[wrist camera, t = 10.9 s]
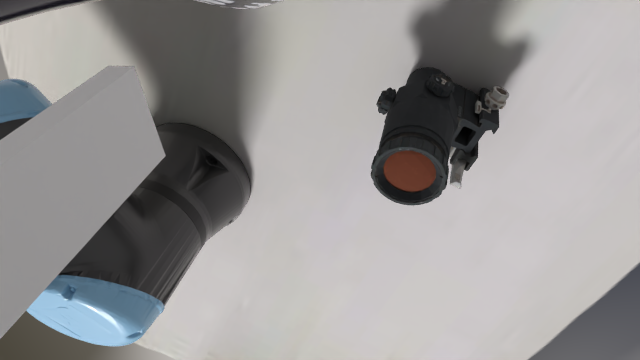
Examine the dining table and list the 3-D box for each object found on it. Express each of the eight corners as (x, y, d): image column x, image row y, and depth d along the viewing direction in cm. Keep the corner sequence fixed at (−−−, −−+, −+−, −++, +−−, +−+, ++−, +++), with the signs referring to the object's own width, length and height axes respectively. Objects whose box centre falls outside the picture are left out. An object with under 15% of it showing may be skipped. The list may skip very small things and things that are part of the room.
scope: (457, 246, 35) (338, 194, 35) (464, 146, 45) (372, 106, 45) (519, 173, 30) (378, 111, 30) (511, 78, 40) (407, 32, 40)
